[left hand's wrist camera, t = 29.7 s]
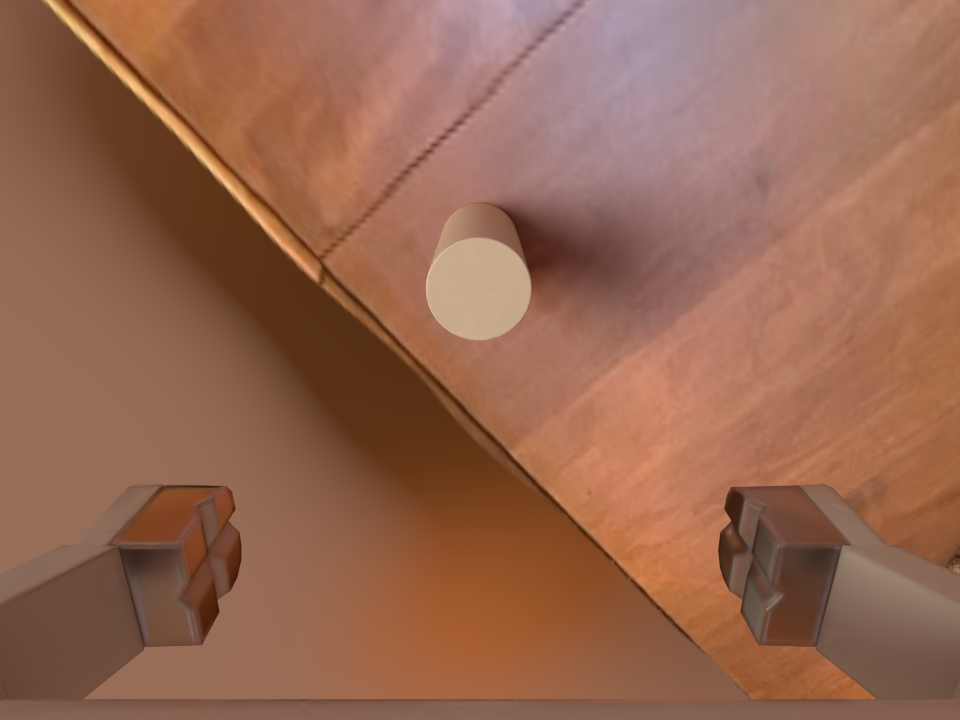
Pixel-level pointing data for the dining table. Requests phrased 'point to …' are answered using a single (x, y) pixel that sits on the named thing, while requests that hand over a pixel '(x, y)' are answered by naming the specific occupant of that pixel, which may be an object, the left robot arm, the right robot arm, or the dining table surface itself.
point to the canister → (479, 274)
